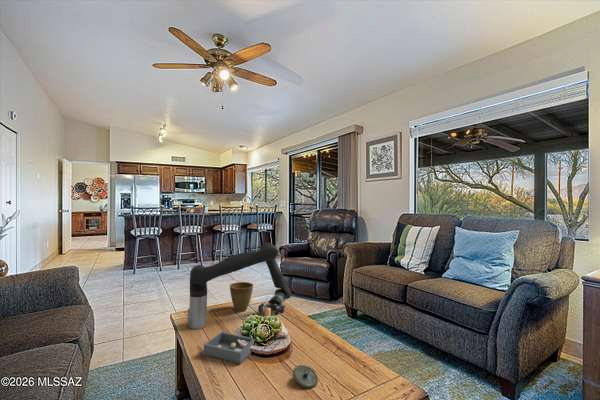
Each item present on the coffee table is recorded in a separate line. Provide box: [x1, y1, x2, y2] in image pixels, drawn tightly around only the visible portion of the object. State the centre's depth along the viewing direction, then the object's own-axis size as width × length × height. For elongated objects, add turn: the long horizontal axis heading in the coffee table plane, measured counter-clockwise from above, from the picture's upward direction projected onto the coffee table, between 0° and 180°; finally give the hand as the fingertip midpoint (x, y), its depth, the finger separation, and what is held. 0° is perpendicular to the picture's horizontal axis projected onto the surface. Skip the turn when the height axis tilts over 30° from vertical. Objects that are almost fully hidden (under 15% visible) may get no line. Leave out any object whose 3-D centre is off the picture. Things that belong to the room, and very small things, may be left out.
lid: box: [292, 364, 319, 389], centre depth 115 cm, size 11×10×5 cm
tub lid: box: [264, 308, 290, 335], centre depth 154 cm, size 20×15×14 cm
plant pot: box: [229, 281, 254, 313], centre depth 187 cm, size 15×15×16 cm
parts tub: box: [203, 331, 254, 365], centre depth 135 cm, size 19×14×5 cm
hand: (267, 313), depth 155 cm, fingers open, 8 cm apart
